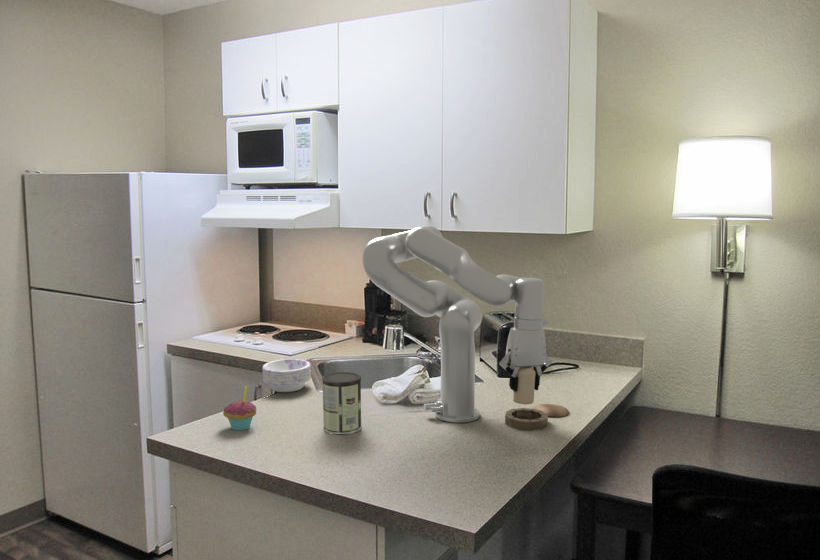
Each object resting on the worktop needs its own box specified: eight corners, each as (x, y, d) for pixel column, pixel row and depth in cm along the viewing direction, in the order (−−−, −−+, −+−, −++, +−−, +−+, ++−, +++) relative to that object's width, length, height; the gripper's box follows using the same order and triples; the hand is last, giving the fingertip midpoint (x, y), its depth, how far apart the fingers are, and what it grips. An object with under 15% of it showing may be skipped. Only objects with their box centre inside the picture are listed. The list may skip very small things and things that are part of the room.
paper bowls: (253, 392, 211) (252, 368, 210) (278, 380, 226) (277, 356, 224) (297, 397, 206) (296, 372, 205) (319, 384, 221) (319, 360, 220)
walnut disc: (542, 418, 188) (542, 416, 188) (526, 407, 197) (526, 405, 197) (574, 415, 191) (574, 413, 191) (557, 404, 200) (557, 402, 200)
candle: (512, 403, 182) (514, 367, 180) (513, 397, 187) (515, 362, 186) (533, 405, 181) (535, 369, 179) (533, 399, 186) (536, 363, 184)
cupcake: (254, 420, 186) (253, 378, 184) (259, 430, 178) (257, 386, 177) (222, 424, 183) (220, 381, 181) (225, 434, 175) (224, 390, 173)
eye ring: (516, 432, 177) (516, 423, 177) (498, 418, 188) (499, 410, 188) (554, 428, 181) (555, 419, 180) (535, 414, 191) (535, 406, 191)
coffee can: (338, 419, 187) (337, 369, 185) (369, 426, 182) (368, 375, 180) (314, 430, 178) (313, 378, 176) (346, 438, 173) (346, 384, 171)
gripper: (550, 320, 187) (546, 383, 189) (492, 321, 182) (489, 387, 184) (563, 326, 180) (559, 392, 182) (504, 328, 175) (500, 395, 177)
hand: (524, 388), depth 183 cm, fingers closed on candle, 5 cm apart
